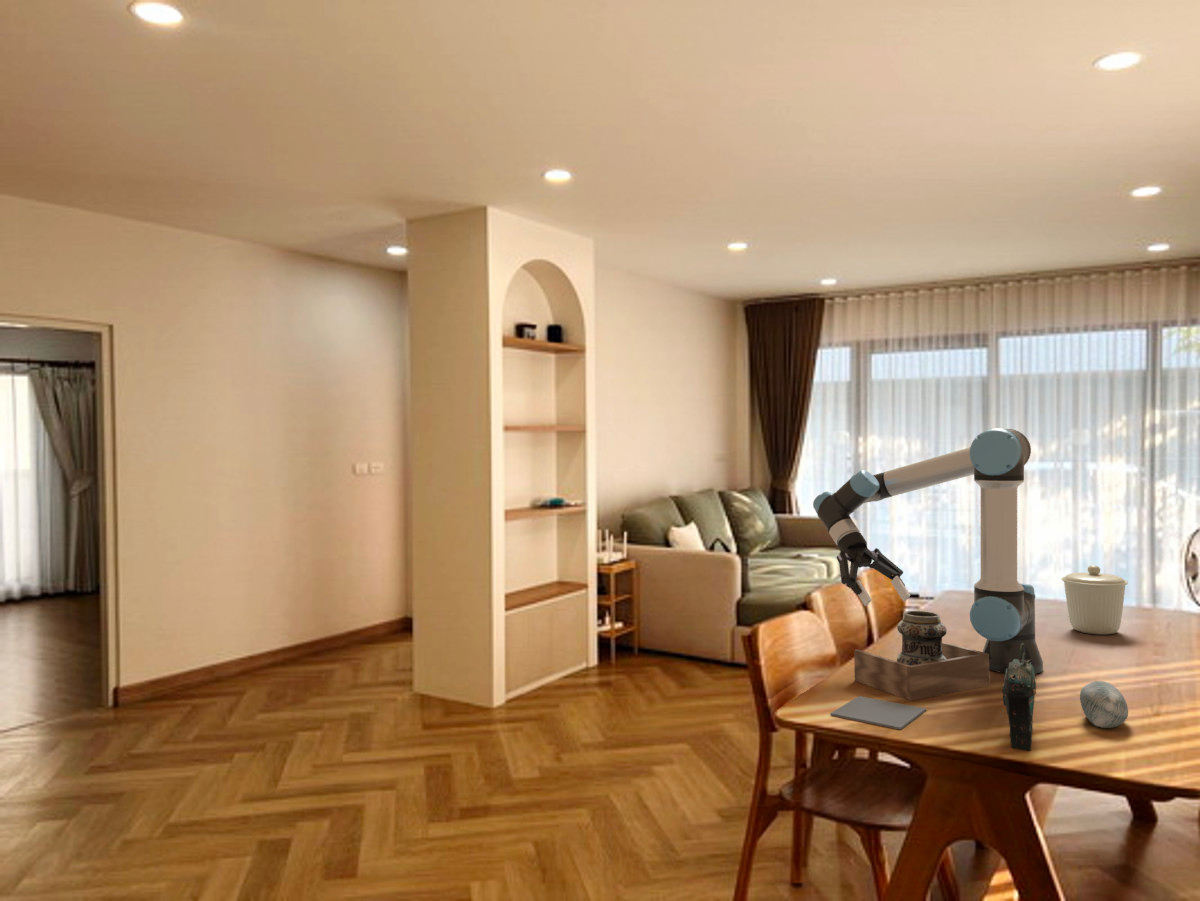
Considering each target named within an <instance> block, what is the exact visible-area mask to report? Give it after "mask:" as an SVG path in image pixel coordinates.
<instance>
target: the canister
mask: <svg viewBox="0 0 1200 901" xmlns="http://www.w3.org/2000/svg"><path fill="white" fill-rule="evenodd" d="M1061 581H1063V583H1064V591H1065V592H1064V593H1065V598H1066V607H1067V612H1068V618H1069V623H1070V625H1071V627H1072V629H1074V630H1075V631H1078V632H1080V633H1084V634H1090V635H1102V636H1103V635H1113V634H1116V633H1118V631H1119V630H1120V627H1121V623H1122V618H1123V609H1124V600H1125V590H1126V585H1128V584H1129V582H1128V581H1127V580H1125V579H1124V578H1123V577H1121V576H1118V575H1115V574H1111V573H1101V568H1100V567H1099V565H1093V564H1092V565H1089V566H1088V567H1087V572H1072V573H1068V574H1066V575H1065V576H1063V577H1061Z"/></svg>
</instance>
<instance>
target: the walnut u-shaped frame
mask: <svg viewBox="0 0 1200 901" xmlns="http://www.w3.org/2000/svg"><path fill="white" fill-rule="evenodd" d="M853 653H854V654H853V655H854V656H853V657H854V659H853V660H854V681H855V682H857V681H858V682H857V683H860V682H861V683H860V684H862V683H863V685H865V684H866V685H865V686H868V687H871V686H872V687H871V688H873V689H876V688H877V689H876V690H879V689H880V691H882V690H883V692H885V693H888V694H890V693H891V695H893V694H894V696H895V697H899V696H900V697H899V698H902V697H903V698H902V699H904V698H905V700H907V699H908V700H907V701H910V702H912V700H913V701H917V700H922V699H928V698H933V696H934V697H937V696H938V695H939V696H943V694H944V695H949V694H953V693H959V692H964V691H968V690H969V691H970V690H972V689H978V688H982V687H988V686H989V687H990V670H989V654H988V653H984V652H983V651H980V650H976V649H971V648H968V647H965V646H961V645H957V644H953V643H949V642H945V641H942V655H943V656H944V657H945V658H946V660H940V661H934V662H929V663H923V664H917V665H911V666H910V665H907V664H904V663H900V662H897V660H894V659H890V658H887V657H884V656H882V655H881V656H880V655H877V654H874V653H871V652H868V651H864V650H861V649H854V650H853ZM939 696H938V697H939Z"/></svg>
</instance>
